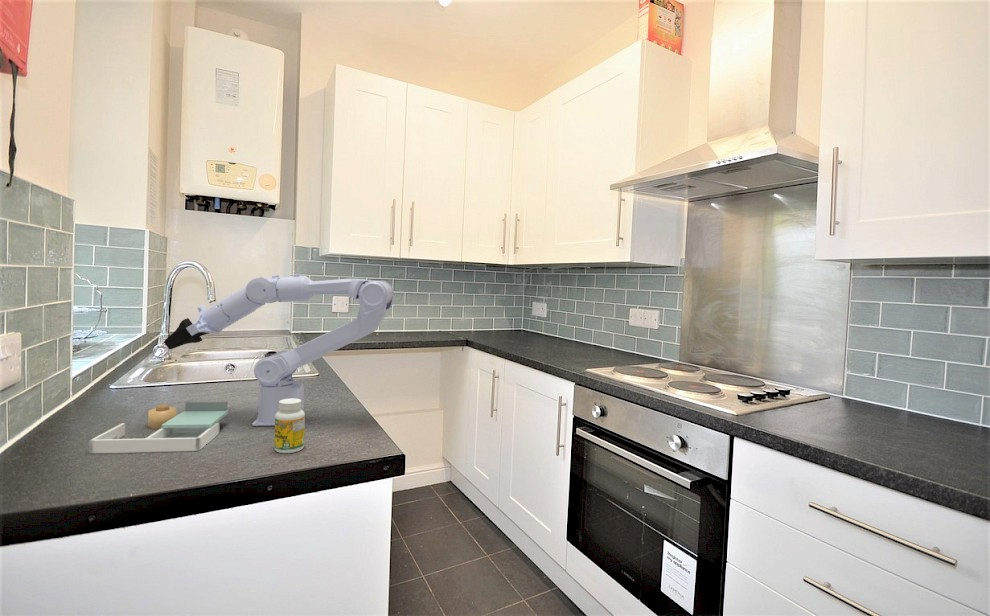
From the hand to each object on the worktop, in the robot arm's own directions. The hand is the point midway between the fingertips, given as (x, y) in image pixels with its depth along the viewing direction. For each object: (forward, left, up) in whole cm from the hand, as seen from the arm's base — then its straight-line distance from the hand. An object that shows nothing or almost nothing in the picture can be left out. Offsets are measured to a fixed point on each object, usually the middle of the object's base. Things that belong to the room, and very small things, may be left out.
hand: (176, 340), depth 104 cm
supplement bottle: (-29, +21, -18) cm, 40 cm away
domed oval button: (0, +5, -18) cm, 19 cm away
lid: (-8, +10, -15) cm, 20 cm away
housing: (-4, +16, -18) cm, 24 cm away
